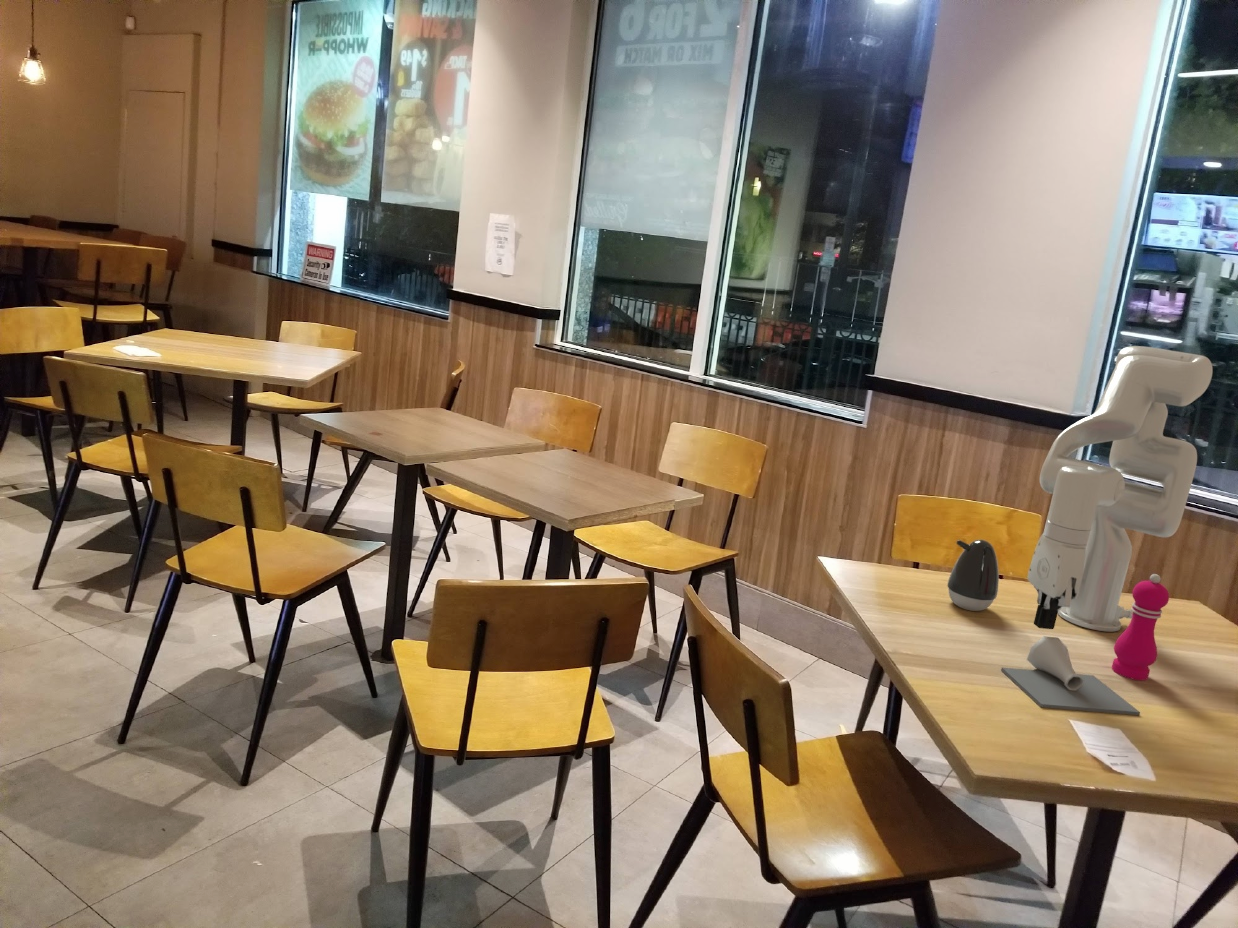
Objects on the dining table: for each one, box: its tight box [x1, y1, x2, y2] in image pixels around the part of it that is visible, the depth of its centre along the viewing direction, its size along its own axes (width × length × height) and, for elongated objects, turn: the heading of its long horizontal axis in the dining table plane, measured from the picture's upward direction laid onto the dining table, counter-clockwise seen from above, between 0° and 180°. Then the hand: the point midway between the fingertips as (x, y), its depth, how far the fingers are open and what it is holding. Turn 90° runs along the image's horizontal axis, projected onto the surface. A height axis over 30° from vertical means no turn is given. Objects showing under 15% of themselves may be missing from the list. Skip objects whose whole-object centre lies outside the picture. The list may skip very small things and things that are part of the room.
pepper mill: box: [1111, 573, 1170, 681], centre depth 179 cm, size 7×7×20 cm
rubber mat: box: [1000, 666, 1141, 716], centre depth 169 cm, size 18×14×1 cm
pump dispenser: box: [947, 539, 1000, 612], centre depth 206 cm, size 10×10×15 cm
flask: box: [1026, 636, 1084, 691], centre depth 172 cm, size 7×7×10 cm
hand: (1043, 626), depth 178 cm, fingers closed
